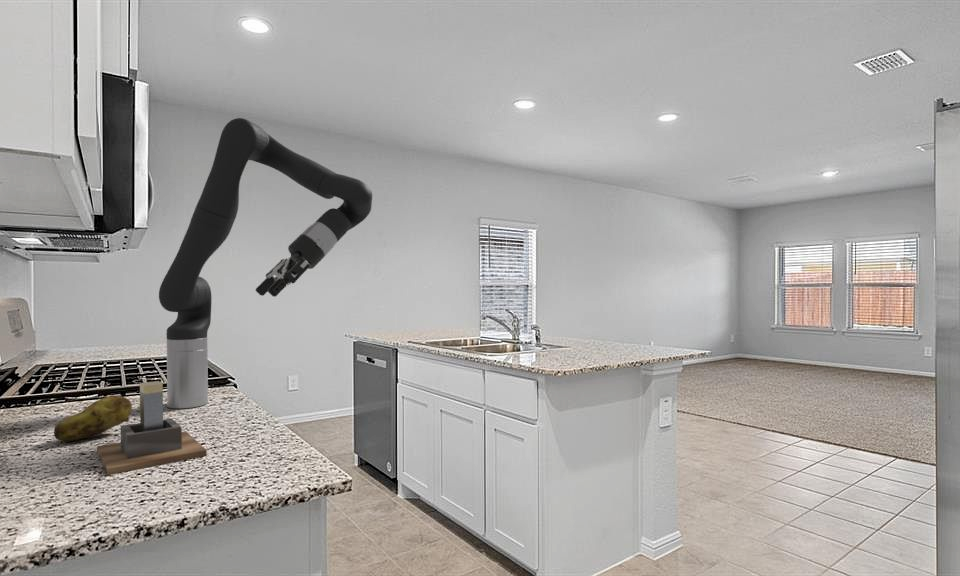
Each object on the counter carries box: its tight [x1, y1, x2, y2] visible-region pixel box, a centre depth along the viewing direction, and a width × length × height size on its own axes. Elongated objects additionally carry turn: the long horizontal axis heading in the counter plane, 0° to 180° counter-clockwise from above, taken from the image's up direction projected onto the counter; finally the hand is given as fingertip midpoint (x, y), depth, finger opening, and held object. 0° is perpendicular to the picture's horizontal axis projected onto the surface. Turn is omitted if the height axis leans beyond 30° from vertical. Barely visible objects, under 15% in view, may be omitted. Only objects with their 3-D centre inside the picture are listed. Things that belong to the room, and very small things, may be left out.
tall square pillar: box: [139, 380, 164, 432], centre depth 100 cm, size 4×3×12 cm
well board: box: [96, 418, 208, 476], centre depth 100 cm, size 16×15×5 cm
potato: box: [53, 394, 133, 443], centre depth 111 cm, size 8×13×8 cm, turn 122°
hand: (264, 293), depth 122 cm, fingers open, 8 cm apart
